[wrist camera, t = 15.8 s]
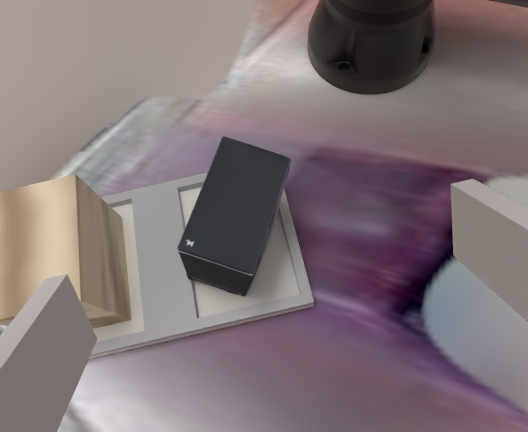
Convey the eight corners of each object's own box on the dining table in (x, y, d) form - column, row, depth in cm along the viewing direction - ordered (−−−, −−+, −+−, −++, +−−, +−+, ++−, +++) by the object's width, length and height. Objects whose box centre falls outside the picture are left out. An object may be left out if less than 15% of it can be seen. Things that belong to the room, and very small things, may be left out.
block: (122, 217, 44) (75, 174, 35) (131, 319, 40) (80, 300, 31) (59, 232, 44) (-5, 193, 35) (61, 336, 40) (-11, 322, 31)
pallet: (276, 167, 47) (275, 156, 44) (313, 306, 41) (313, 302, 38) (44, 222, 47) (30, 213, 44) (45, 369, 41) (29, 368, 38)
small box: (249, 300, 40) (255, 280, 30) (185, 278, 40) (171, 252, 30) (280, 203, 44) (295, 157, 34) (221, 184, 44) (219, 132, 34)
